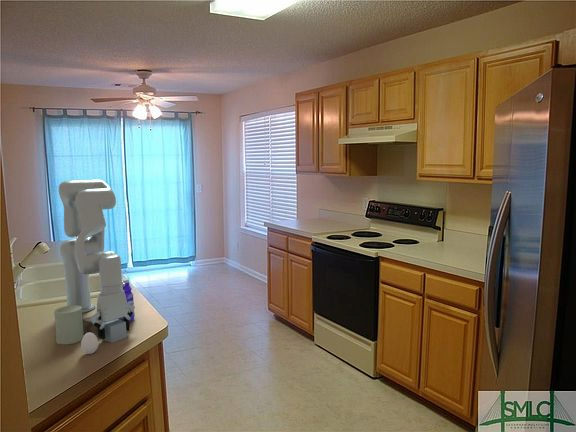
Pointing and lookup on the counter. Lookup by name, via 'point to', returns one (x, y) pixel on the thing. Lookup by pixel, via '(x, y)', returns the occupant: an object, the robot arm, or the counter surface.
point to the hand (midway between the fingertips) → (114, 334)
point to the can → (69, 324)
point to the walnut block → (90, 326)
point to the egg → (89, 343)
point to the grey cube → (115, 330)
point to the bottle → (128, 295)
